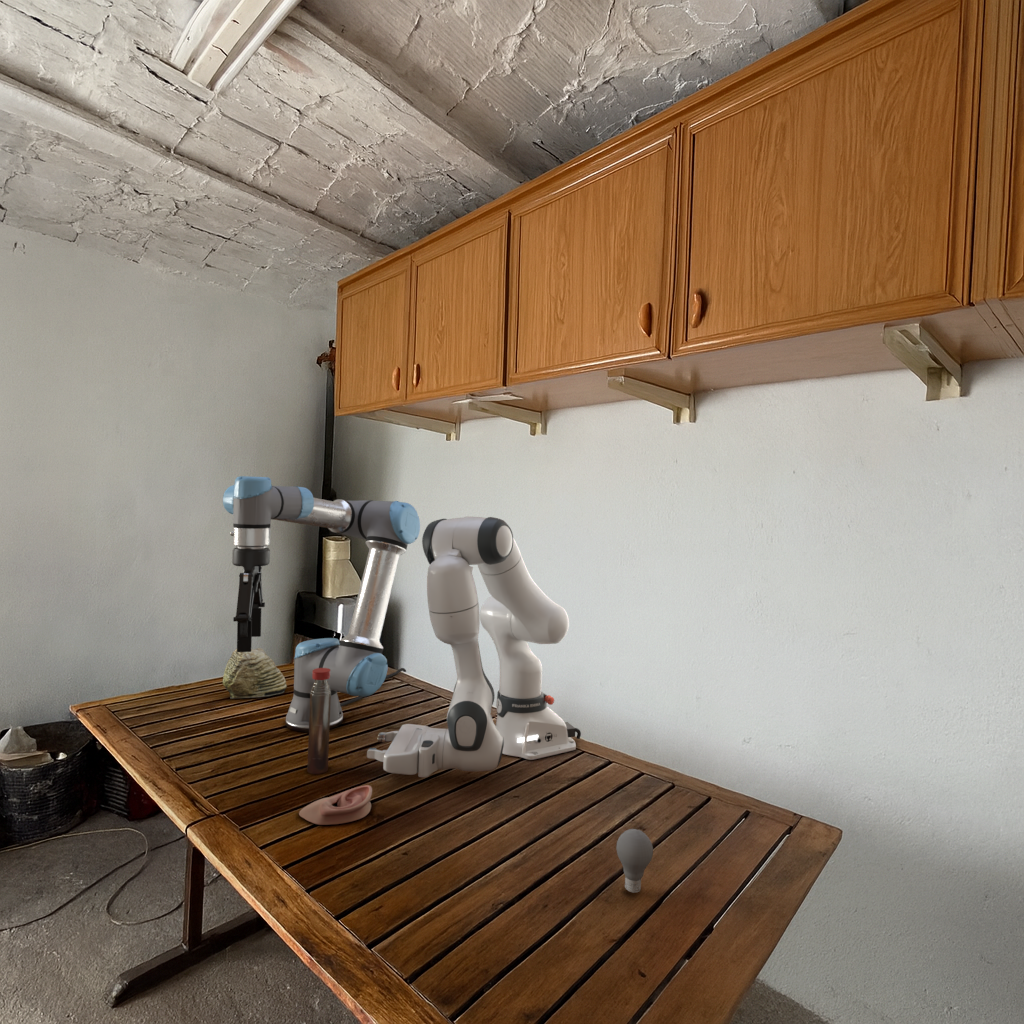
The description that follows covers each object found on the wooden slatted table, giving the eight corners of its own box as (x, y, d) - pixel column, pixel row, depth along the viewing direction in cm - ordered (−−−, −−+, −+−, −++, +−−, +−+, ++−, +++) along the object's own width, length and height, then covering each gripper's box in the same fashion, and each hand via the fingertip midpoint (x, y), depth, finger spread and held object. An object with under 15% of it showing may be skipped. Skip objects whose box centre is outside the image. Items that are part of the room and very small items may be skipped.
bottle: (332, 768, 148) (335, 671, 147) (318, 775, 144) (321, 675, 143) (317, 764, 150) (321, 668, 149) (303, 771, 146) (306, 672, 145)
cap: (333, 677, 147) (333, 669, 147) (321, 681, 144) (321, 673, 144) (320, 674, 149) (321, 667, 149) (308, 678, 145) (308, 670, 145)
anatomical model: (291, 800, 123) (320, 775, 134) (290, 820, 123) (320, 794, 134) (354, 810, 120) (379, 784, 132) (353, 830, 121) (378, 803, 132)
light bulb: (610, 879, 108) (613, 822, 108) (644, 879, 109) (647, 822, 109) (619, 902, 102) (622, 840, 102) (655, 901, 103) (658, 840, 103)
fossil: (218, 695, 195) (220, 647, 195) (278, 685, 208) (279, 640, 207) (228, 703, 189) (230, 653, 188) (289, 692, 201) (290, 645, 201)
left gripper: (242, 541, 149) (241, 631, 150) (221, 552, 125) (218, 659, 126) (276, 542, 151) (274, 630, 152) (261, 553, 127) (259, 658, 127)
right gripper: (440, 719, 156) (384, 715, 156) (425, 752, 135) (361, 748, 136) (439, 744, 156) (383, 741, 156) (424, 781, 135) (360, 777, 136)
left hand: (249, 643), depth 139 cm, fingers open, 13 cm apart
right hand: (373, 744), depth 146 cm, fingers open, 8 cm apart
